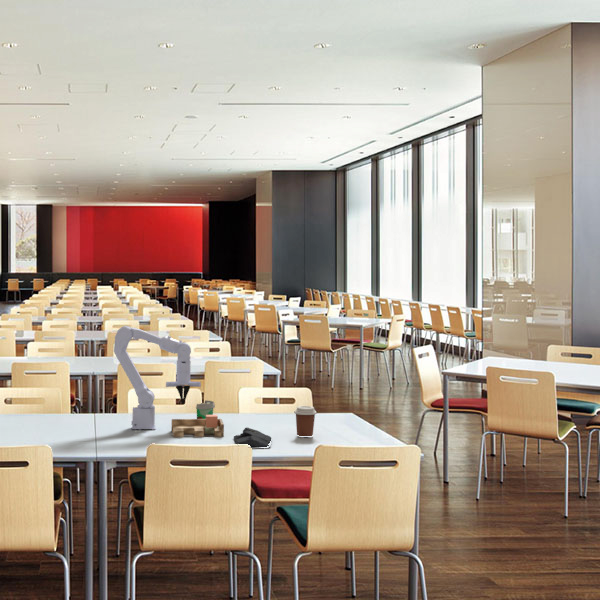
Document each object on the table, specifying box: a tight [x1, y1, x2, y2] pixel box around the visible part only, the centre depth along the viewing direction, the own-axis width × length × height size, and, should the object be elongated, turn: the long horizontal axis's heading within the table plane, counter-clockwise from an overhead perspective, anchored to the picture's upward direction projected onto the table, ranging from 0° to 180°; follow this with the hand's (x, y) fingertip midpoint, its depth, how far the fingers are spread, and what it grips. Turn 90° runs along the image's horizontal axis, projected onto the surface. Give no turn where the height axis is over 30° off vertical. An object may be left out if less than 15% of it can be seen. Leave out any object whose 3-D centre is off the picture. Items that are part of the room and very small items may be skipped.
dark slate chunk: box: [233, 427, 272, 448], centre depth 325 cm, size 15×22×5 cm
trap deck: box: [170, 418, 225, 438], centre depth 341 cm, size 20×13×5 cm, turn 100°
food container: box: [195, 399, 216, 419], centre depth 361 cm, size 12×6×10 cm, turn 168°
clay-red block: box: [206, 414, 219, 428], centre depth 345 cm, size 4×4×4 cm
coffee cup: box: [293, 405, 317, 436], centre depth 341 cm, size 9×9×12 cm
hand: (183, 403), depth 352 cm, fingers closed
